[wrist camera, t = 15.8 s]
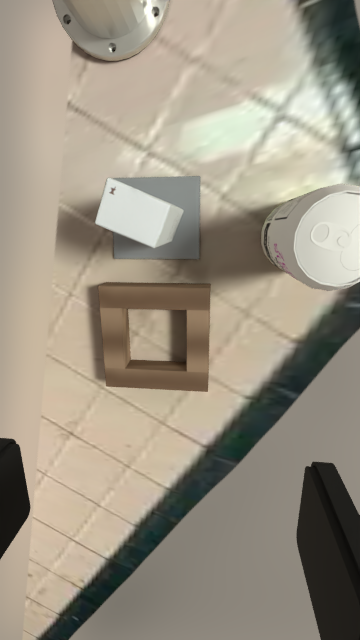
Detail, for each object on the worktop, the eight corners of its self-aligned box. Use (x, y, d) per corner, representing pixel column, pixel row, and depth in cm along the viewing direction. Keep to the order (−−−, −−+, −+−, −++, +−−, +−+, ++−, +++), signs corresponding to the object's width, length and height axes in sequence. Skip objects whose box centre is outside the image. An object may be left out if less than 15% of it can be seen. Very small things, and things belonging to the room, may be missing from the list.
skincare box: (128, 224, 39) (91, 223, 28) (139, 190, 38) (106, 174, 26) (172, 243, 39) (154, 250, 28) (185, 210, 38) (172, 202, 26)
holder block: (106, 282, 42) (98, 286, 39) (210, 283, 40) (209, 288, 38) (113, 376, 46) (106, 386, 43) (208, 381, 44) (207, 391, 42)
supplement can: (342, 212, 36) (424, 202, 22) (311, 279, 39) (366, 308, 24) (277, 189, 36) (315, 164, 22) (249, 257, 39) (268, 274, 25)
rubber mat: (110, 178, 38) (109, 178, 38) (200, 176, 37) (200, 176, 37) (115, 258, 41) (114, 258, 40) (199, 258, 40) (199, 259, 39)
